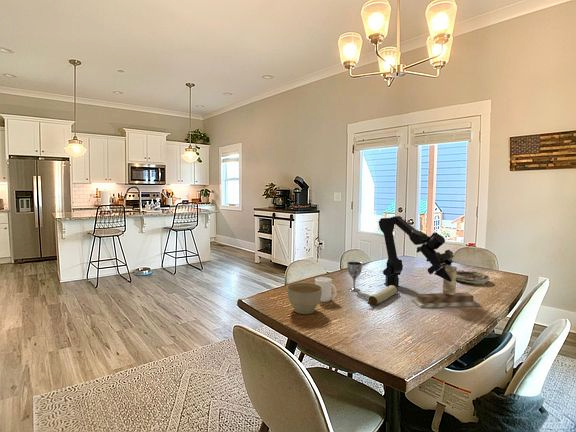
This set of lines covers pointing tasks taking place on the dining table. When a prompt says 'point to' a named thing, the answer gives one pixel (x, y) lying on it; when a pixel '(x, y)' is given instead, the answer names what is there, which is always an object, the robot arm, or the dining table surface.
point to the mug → (326, 288)
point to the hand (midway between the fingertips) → (452, 280)
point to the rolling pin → (382, 295)
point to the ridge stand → (444, 300)
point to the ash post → (451, 286)
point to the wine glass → (354, 273)
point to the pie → (471, 277)
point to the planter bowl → (304, 297)
